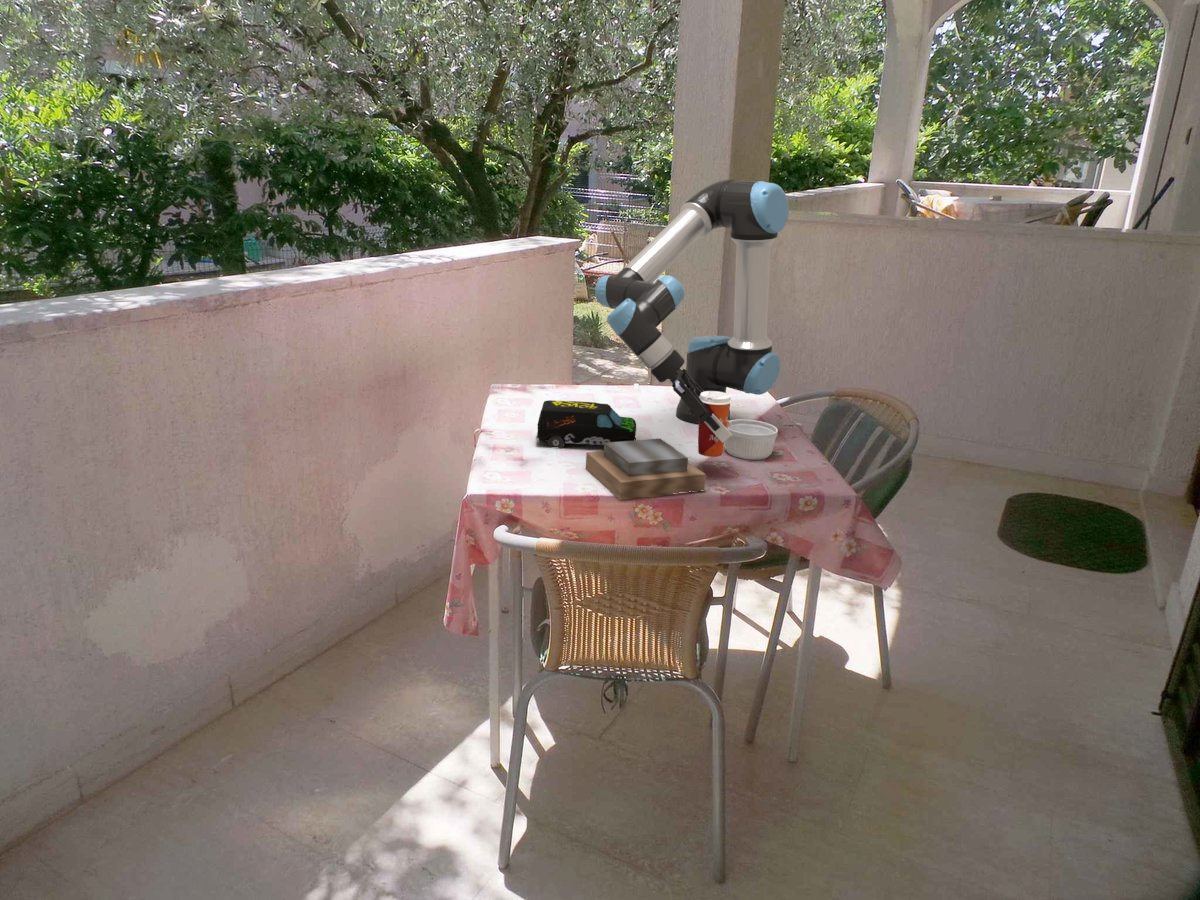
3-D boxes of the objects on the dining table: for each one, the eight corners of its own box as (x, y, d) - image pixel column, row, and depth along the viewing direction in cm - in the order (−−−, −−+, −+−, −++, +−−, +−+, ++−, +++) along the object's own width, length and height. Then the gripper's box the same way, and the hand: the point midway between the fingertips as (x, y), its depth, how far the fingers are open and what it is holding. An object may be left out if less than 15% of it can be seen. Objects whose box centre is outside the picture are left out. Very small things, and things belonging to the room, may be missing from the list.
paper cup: (718, 460, 192) (724, 401, 188) (687, 453, 196) (692, 395, 192) (732, 452, 199) (738, 394, 194) (702, 445, 203) (707, 388, 198)
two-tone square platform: (663, 461, 203) (665, 433, 201) (704, 491, 186) (706, 461, 183) (585, 468, 196) (587, 439, 193) (620, 500, 178) (621, 468, 176)
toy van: (635, 453, 209) (638, 414, 205) (535, 447, 209) (536, 408, 206) (635, 440, 219) (637, 402, 216) (538, 434, 219) (540, 397, 216)
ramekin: (782, 452, 215) (786, 426, 213) (762, 465, 204) (765, 438, 202) (734, 441, 222) (737, 415, 219) (712, 453, 211) (715, 427, 209)
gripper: (652, 360, 203) (715, 430, 206) (645, 380, 184) (714, 457, 187) (676, 339, 201) (739, 410, 204) (671, 358, 181) (740, 436, 185)
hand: (727, 433), depth 195 cm, fingers closed on paper cup, 8 cm apart
